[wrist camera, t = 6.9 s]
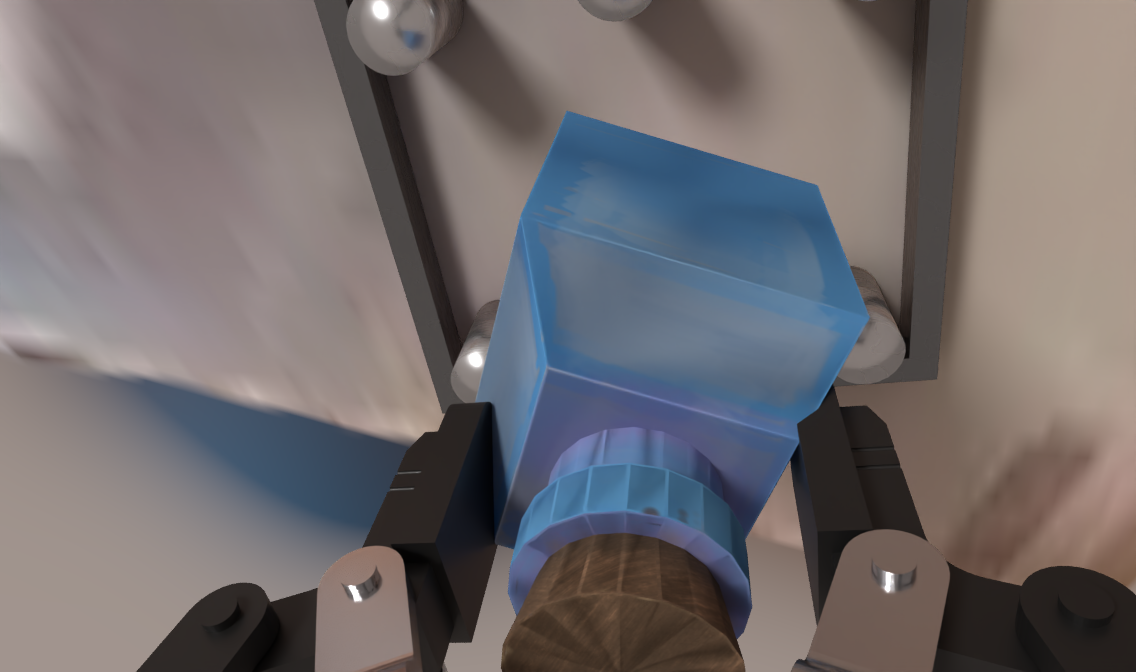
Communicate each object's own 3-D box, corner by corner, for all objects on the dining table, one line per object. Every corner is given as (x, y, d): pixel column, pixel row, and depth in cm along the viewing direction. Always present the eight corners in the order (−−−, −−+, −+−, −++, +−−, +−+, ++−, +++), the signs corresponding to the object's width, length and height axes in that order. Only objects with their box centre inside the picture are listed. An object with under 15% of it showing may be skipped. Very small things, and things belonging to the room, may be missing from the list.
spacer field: (966, -210, 21) (1022, -223, 17) (926, 357, 30) (957, 421, 26) (310, -78, 24) (251, -68, 21) (451, 392, 33) (426, 453, 30)
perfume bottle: (723, 385, 22) (759, 847, 12) (511, 324, 22) (362, 740, 12) (817, 185, 19) (978, 589, 8) (566, 111, 18) (424, 433, 8)
